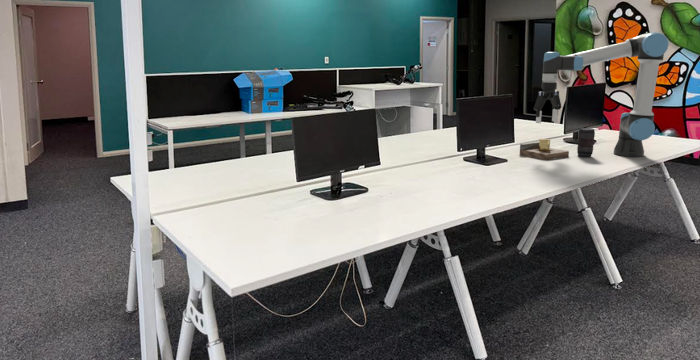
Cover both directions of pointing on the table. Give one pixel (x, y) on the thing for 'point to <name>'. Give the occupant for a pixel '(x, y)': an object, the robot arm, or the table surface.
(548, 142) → the brass sleeve
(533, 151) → the plate
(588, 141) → the camera lens
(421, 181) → the table surface
